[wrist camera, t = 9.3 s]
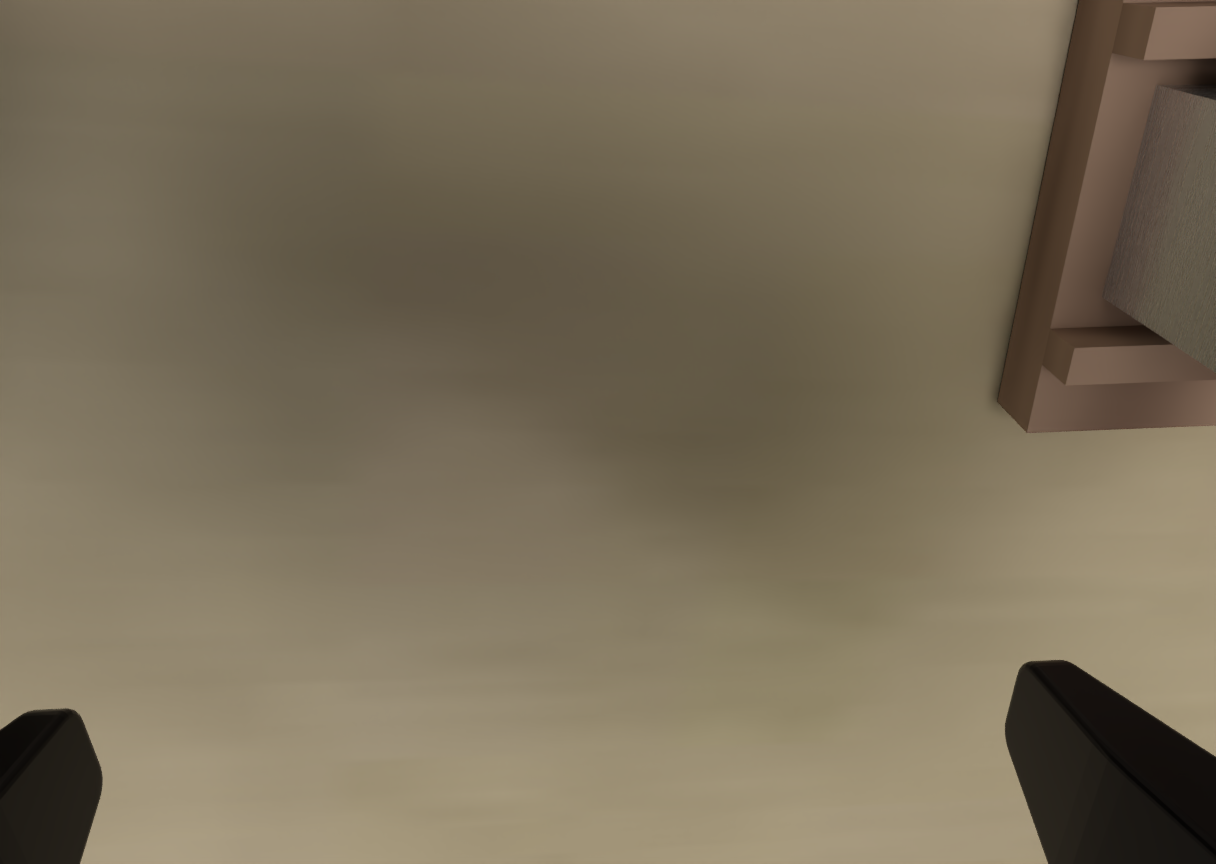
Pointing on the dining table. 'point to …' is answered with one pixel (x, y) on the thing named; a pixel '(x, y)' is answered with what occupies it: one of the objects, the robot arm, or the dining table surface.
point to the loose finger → (1172, 224)
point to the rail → (1104, 233)
